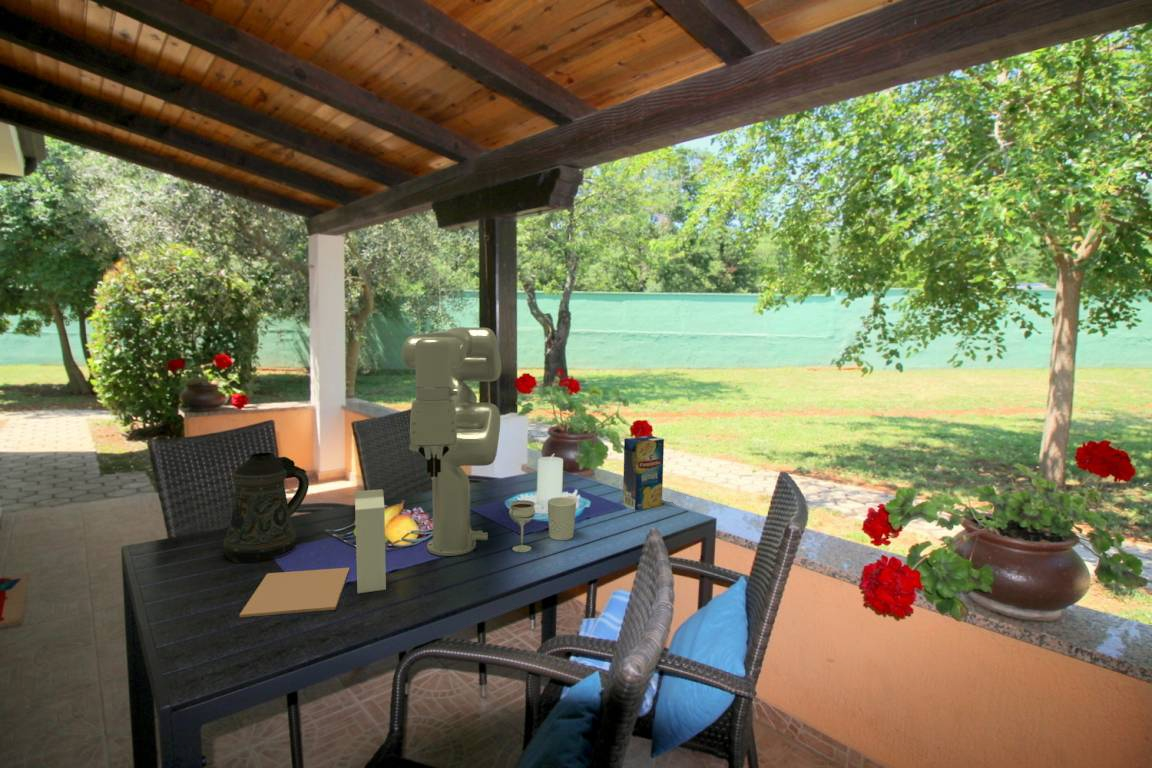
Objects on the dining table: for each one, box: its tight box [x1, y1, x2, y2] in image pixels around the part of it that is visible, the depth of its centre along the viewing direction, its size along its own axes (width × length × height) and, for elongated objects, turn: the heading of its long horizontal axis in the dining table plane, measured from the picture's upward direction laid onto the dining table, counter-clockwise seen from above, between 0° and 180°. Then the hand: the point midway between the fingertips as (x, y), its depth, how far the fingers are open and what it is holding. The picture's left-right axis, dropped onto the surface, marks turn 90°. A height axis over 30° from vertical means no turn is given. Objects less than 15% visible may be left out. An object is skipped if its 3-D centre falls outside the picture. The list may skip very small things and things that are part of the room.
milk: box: [354, 488, 387, 594], centre depth 134 cm, size 6×6×22 cm
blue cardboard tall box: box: [622, 435, 665, 511], centre depth 196 cm, size 7×11×22 cm, turn 122°
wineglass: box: [508, 499, 536, 553], centre depth 158 cm, size 7×7×12 cm
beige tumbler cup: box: [547, 496, 577, 541], centre depth 167 cm, size 8×8×10 cm
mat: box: [238, 567, 351, 618], centre depth 132 cm, size 18×20×1 cm
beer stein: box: [223, 452, 310, 563], centre depth 155 cm, size 16×19×25 cm
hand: (434, 475), depth 135 cm, fingers closed
